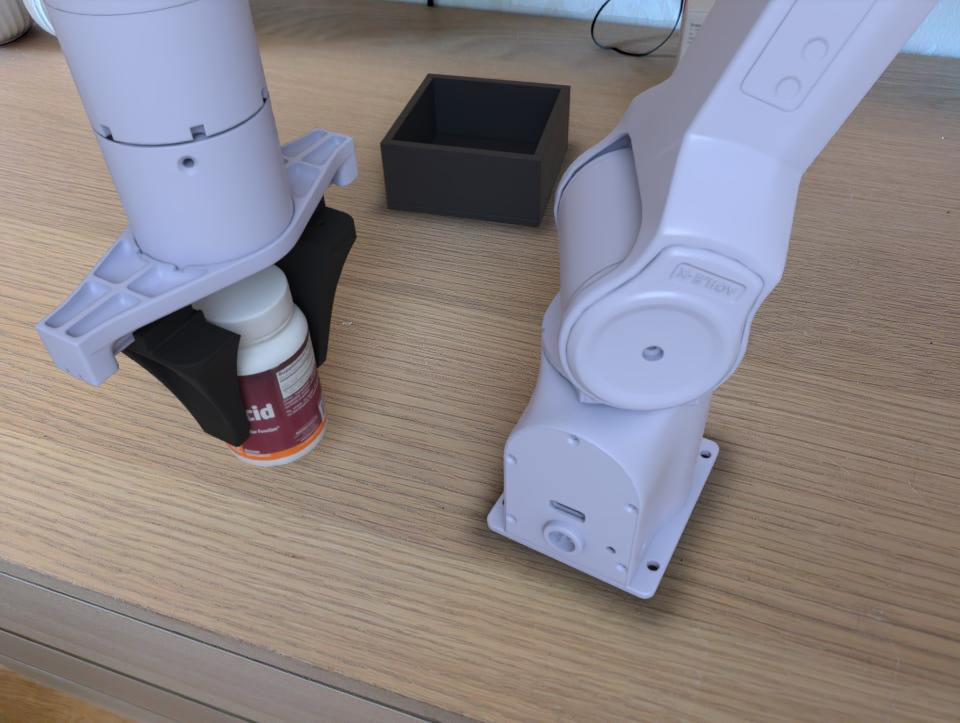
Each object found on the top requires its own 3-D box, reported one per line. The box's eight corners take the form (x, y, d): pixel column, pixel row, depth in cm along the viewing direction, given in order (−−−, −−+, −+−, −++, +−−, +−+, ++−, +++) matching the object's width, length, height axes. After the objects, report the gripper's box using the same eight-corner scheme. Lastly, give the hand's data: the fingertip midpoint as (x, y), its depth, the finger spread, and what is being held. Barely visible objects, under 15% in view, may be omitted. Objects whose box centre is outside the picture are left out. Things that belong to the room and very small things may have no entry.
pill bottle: (204, 452, 37) (147, 310, 31) (264, 383, 40) (221, 242, 34) (294, 483, 36) (251, 340, 30) (348, 408, 39) (318, 266, 33)
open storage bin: (539, 227, 54) (541, 160, 51) (387, 208, 57) (379, 143, 53) (567, 148, 62) (570, 85, 58) (432, 134, 64) (427, 72, 61)
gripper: (237, 9, 33) (299, 277, 42) (-98, 180, 24) (75, 473, 33) (382, 39, 30) (414, 318, 40) (66, 244, 21) (204, 543, 31)
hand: (268, 393), depth 36 cm, fingers closed on pill bottle, 5 cm apart
